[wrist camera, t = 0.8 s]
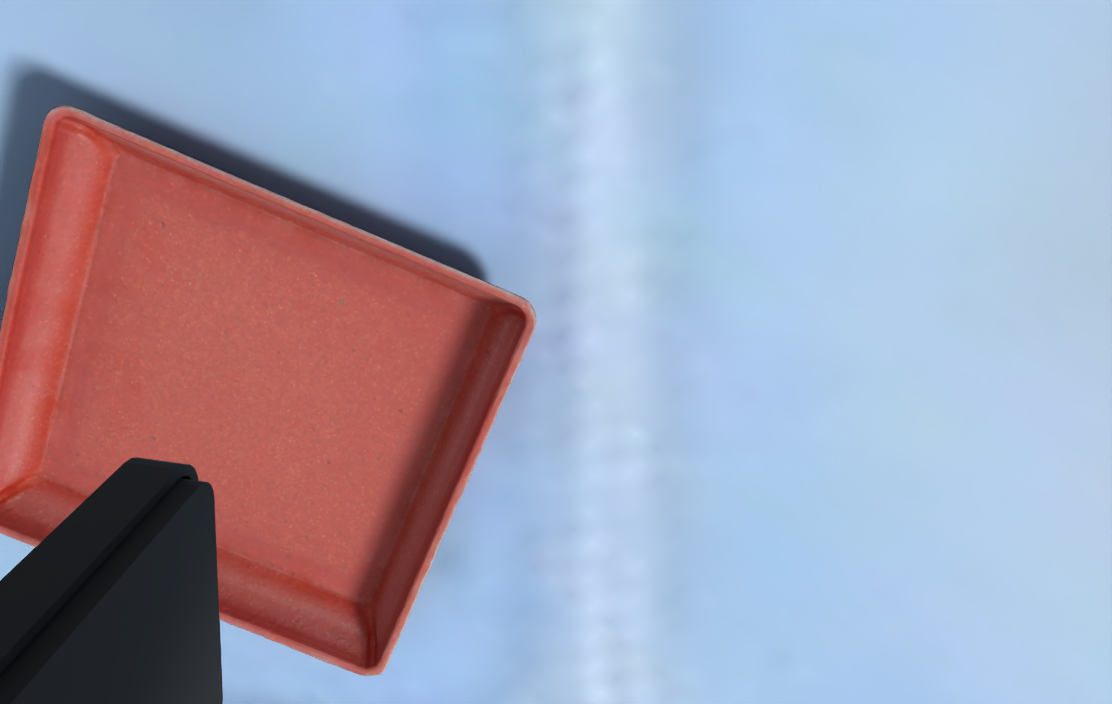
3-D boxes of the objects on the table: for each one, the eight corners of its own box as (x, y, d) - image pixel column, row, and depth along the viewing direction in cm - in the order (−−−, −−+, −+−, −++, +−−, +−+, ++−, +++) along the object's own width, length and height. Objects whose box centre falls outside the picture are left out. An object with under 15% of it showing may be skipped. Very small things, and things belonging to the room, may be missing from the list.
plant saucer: (554, 279, 38) (544, 309, 35) (398, 637, 45) (378, 688, 42) (96, 83, 37) (45, 96, 34) (8, 479, 44) (-41, 519, 41)
